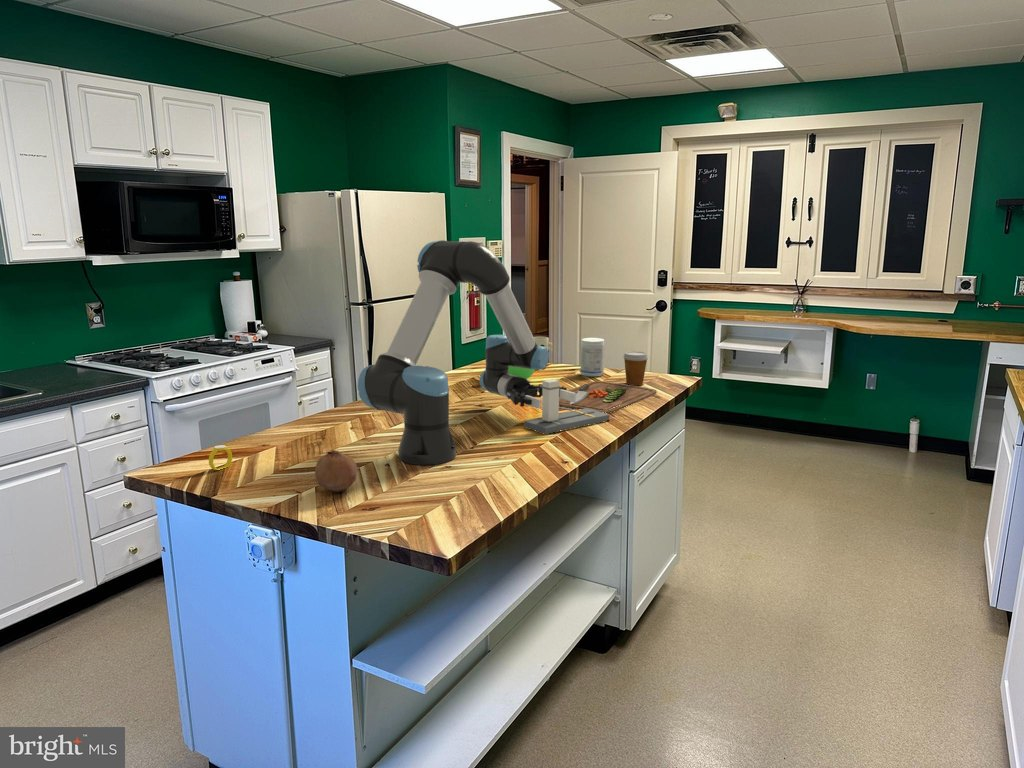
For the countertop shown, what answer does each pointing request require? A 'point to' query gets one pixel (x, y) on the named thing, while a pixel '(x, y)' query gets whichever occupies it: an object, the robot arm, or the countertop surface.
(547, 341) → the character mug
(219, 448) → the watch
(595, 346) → the supplement tub
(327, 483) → the onion
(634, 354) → the disposable coffee cup
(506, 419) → the countertop surface
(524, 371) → the green rounded body
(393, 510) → the countertop surface
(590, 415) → the fader console
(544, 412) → the fader knob
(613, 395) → the chopping board
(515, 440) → the countertop surface
